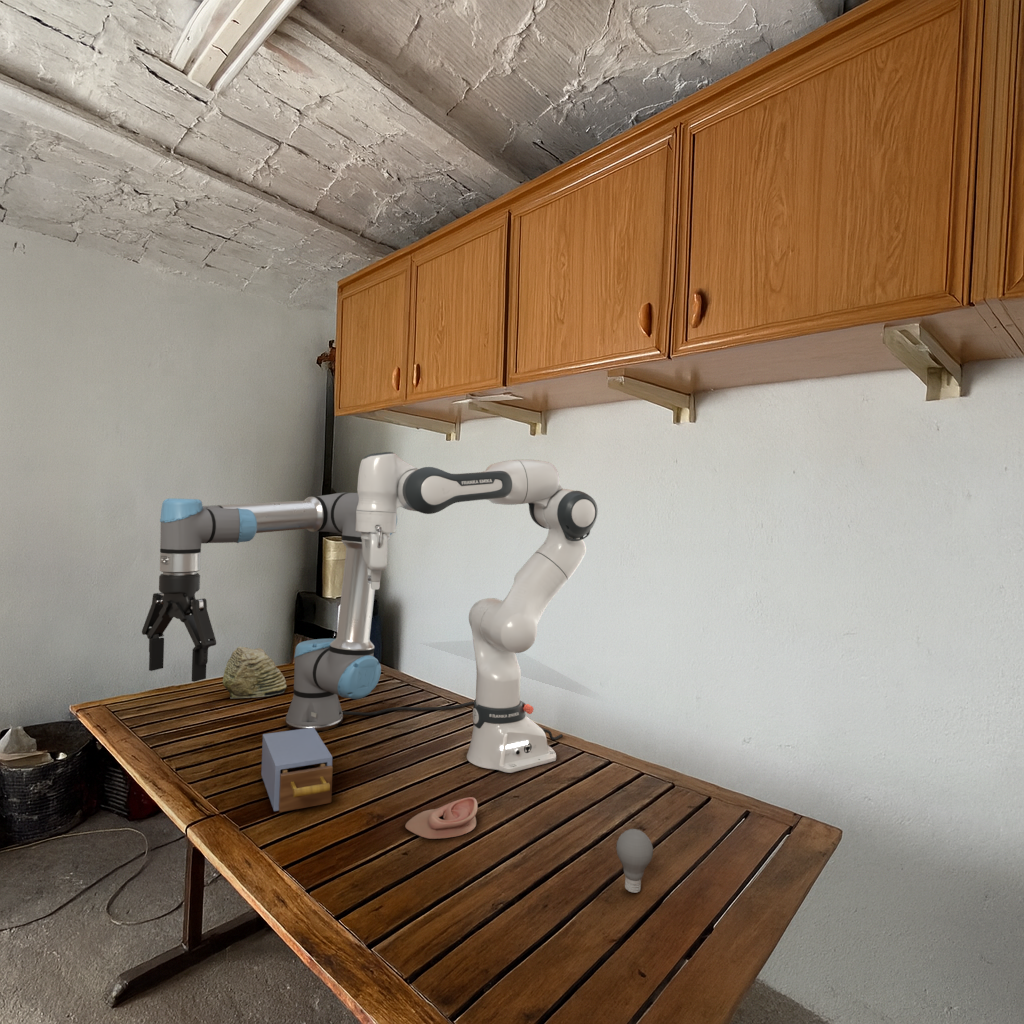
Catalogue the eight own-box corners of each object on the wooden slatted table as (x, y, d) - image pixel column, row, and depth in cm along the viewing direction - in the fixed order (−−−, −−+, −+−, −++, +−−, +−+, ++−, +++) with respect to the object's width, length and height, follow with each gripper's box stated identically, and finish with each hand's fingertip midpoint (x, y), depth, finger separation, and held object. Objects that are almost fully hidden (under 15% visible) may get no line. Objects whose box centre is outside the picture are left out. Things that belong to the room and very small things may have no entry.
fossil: (218, 695, 195) (220, 647, 195) (278, 685, 208) (279, 640, 207) (228, 703, 189) (230, 653, 188) (289, 692, 201) (290, 645, 201)
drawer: (337, 814, 125) (339, 778, 125) (284, 825, 120) (285, 787, 120) (313, 769, 144) (314, 738, 144) (266, 777, 139) (268, 744, 139)
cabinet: (330, 800, 132) (332, 756, 132) (273, 811, 127) (275, 765, 127) (312, 766, 148) (313, 727, 148) (261, 774, 143) (262, 734, 143)
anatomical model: (399, 813, 120) (420, 787, 131) (398, 834, 120) (419, 806, 131) (467, 823, 117) (482, 796, 128) (466, 845, 117) (481, 815, 128)
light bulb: (610, 879, 108) (613, 822, 108) (644, 879, 109) (647, 822, 109) (619, 902, 102) (622, 840, 102) (655, 901, 103) (658, 840, 103)
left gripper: (124, 569, 134) (122, 668, 134) (204, 580, 122) (201, 689, 123) (158, 566, 140) (155, 661, 141) (236, 576, 129) (233, 680, 129)
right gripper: (395, 527, 132) (392, 593, 132) (385, 522, 152) (383, 580, 152) (364, 526, 130) (361, 593, 131) (358, 521, 150) (356, 579, 150)
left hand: (176, 674), depth 132 cm, fingers open, 13 cm apart
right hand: (373, 586), depth 141 cm, fingers open, 8 cm apart
